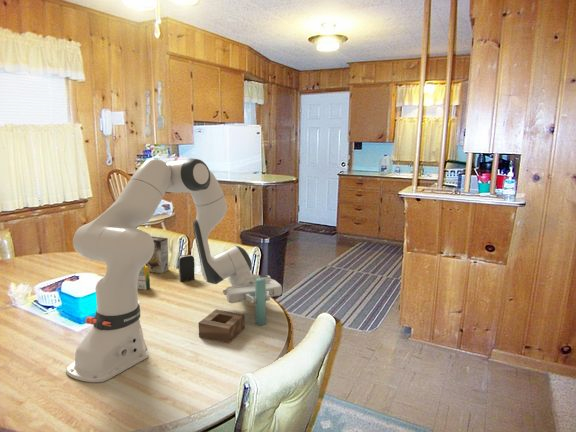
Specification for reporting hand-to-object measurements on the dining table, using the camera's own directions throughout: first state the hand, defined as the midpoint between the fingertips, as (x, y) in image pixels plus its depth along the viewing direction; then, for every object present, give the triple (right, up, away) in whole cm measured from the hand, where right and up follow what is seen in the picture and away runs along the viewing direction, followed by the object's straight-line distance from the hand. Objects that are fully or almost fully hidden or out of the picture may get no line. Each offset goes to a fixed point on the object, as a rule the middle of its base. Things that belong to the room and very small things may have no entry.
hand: (261, 299), depth 137 cm
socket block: (-13, -10, -4) cm, 17 cm away
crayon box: (-54, -2, +33) cm, 63 cm away
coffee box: (-54, +2, +55) cm, 77 cm away
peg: (0, -9, +3) cm, 9 cm away
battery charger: (-37, 0, +44) cm, 58 cm away
